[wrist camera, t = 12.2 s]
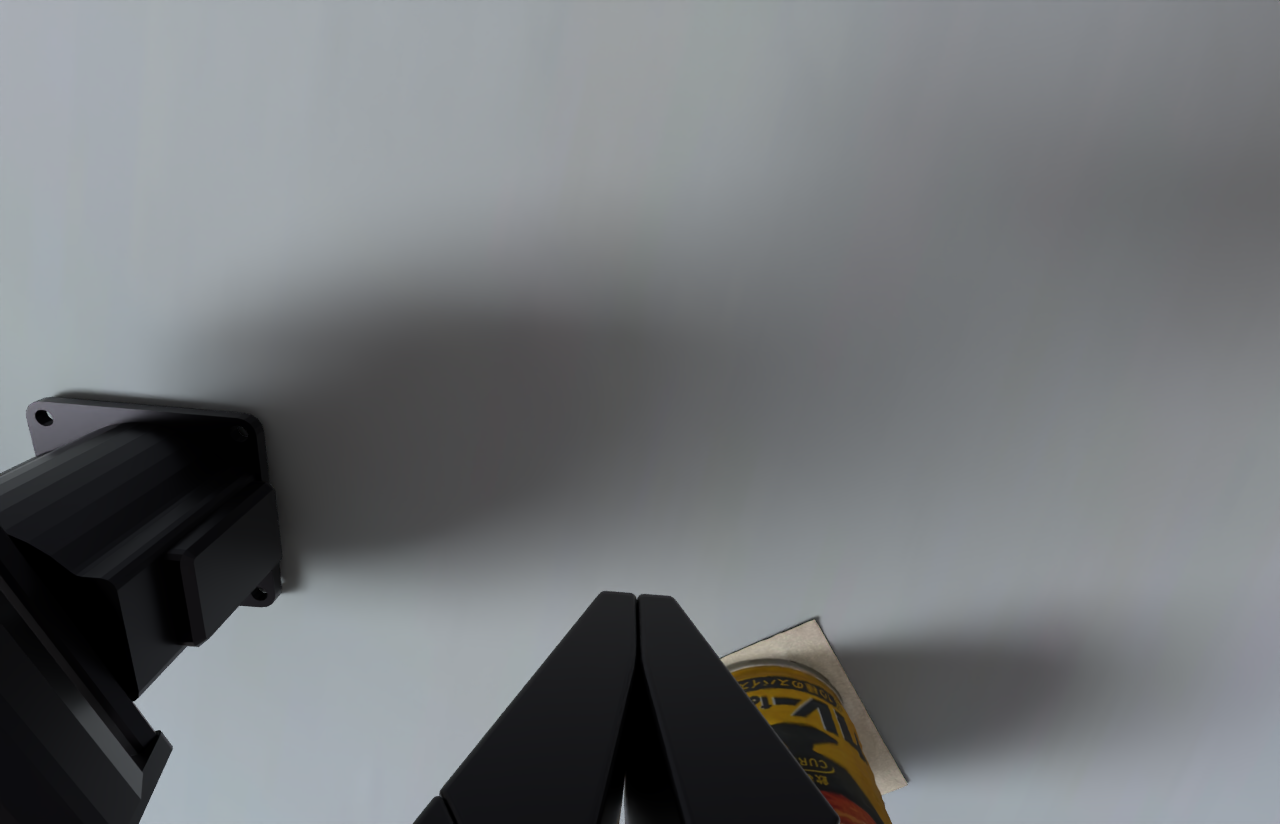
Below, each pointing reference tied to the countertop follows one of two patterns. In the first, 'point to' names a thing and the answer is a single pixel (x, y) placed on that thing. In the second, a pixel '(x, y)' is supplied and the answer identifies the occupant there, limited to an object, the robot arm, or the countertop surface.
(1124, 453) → the countertop surface
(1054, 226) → the countertop surface
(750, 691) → the condiment
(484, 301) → the countertop surface
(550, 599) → the countertop surface
